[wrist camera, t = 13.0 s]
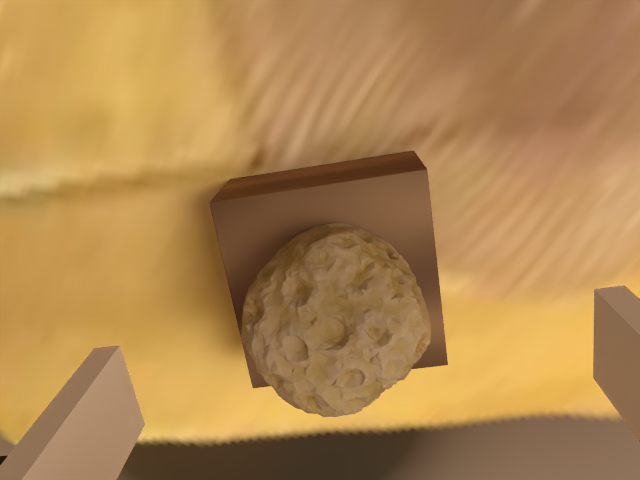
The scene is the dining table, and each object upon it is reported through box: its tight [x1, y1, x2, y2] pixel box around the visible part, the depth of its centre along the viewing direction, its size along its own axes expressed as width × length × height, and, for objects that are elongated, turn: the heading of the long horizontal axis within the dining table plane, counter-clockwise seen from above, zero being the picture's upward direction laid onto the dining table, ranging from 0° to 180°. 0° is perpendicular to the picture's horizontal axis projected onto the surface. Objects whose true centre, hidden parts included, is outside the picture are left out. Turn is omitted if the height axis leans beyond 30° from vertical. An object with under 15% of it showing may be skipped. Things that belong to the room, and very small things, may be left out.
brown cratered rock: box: [241, 223, 431, 417], centre depth 28 cm, size 9×9×8 cm
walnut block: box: [210, 151, 448, 388], centre depth 35 cm, size 12×12×6 cm
